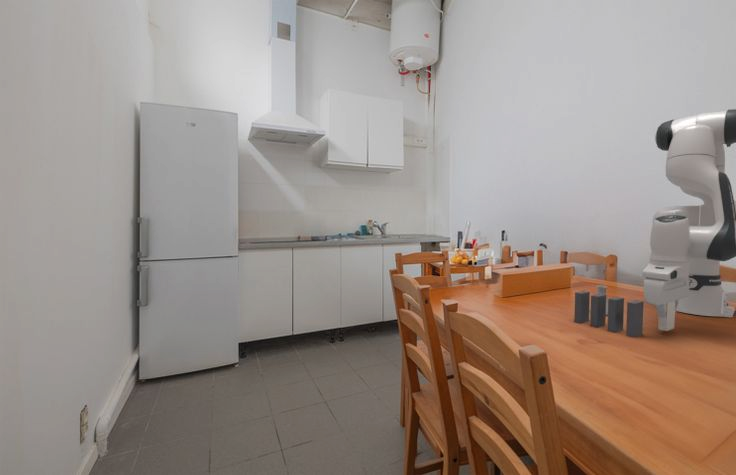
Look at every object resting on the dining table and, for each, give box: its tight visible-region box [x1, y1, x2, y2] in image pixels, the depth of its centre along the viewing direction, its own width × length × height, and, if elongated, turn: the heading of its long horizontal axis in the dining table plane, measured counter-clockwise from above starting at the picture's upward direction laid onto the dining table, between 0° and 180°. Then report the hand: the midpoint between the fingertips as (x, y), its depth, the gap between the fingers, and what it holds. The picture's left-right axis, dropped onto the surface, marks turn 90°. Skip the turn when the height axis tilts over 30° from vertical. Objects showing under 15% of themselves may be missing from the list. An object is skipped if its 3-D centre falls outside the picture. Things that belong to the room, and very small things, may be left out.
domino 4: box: [625, 299, 645, 338], centre depth 98 cm, size 2×5×10 cm, turn 118°
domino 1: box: [573, 290, 591, 324], centre depth 111 cm, size 2×5×10 cm, turn 118°
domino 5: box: [657, 301, 676, 332], centre depth 99 cm, size 2×5×10 cm, turn 118°
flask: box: [589, 285, 609, 316], centre depth 120 cm, size 7×7×10 cm
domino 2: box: [589, 293, 607, 329], centre depth 106 cm, size 2×5×10 cm, turn 118°
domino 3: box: [606, 296, 625, 333], centre depth 102 cm, size 2×5×10 cm, turn 118°
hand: (666, 315), depth 99 cm, fingers closed on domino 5, 5 cm apart
